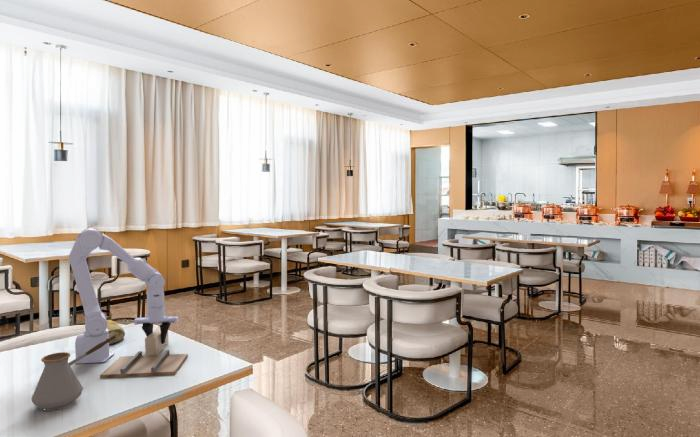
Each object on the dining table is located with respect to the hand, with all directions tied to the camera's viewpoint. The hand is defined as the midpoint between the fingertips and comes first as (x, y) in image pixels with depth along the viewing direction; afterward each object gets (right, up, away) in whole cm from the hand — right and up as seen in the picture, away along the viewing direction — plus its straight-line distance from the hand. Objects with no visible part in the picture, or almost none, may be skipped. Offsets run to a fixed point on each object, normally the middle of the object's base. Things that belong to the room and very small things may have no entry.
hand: (157, 343), depth 160 cm
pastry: (-23, -2, +9) cm, 25 cm away
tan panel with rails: (+4, -3, -17) cm, 17 cm away
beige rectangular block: (0, -2, 0) cm, 2 cm away
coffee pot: (-5, -5, -38) cm, 38 cm away
